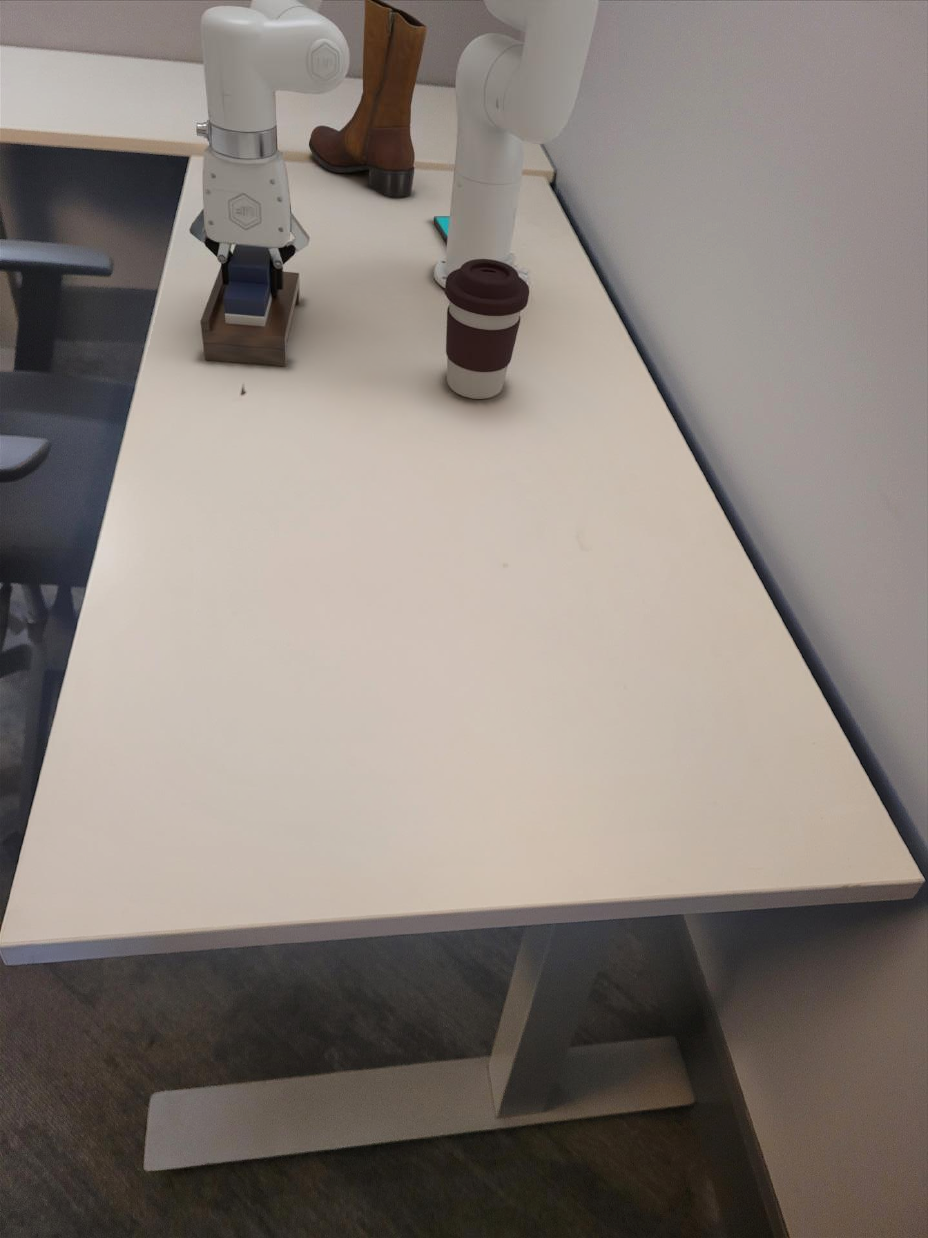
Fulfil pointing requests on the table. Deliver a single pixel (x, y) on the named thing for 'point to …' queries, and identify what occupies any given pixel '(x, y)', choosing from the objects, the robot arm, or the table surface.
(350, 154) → the boot
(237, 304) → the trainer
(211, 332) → the wooden block with lip
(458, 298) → the coffee cup
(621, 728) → the table surface
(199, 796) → the table surface
